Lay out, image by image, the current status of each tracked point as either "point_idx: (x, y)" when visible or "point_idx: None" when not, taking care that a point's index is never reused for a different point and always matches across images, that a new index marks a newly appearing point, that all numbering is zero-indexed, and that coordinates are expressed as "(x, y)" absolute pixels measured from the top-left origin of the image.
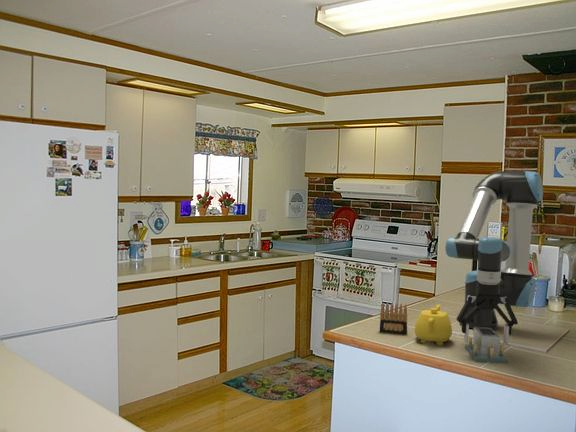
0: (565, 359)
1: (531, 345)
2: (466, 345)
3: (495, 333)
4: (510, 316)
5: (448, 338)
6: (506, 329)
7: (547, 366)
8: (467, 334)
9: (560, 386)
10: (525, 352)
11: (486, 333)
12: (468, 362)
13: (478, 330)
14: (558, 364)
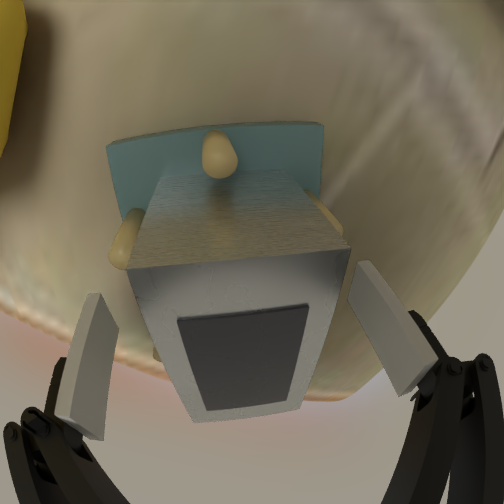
0: (482, 235)
1: (483, 84)
2: (115, 174)
3: (301, 380)
4: (466, 425)
5: (2, 150)
6: (389, 375)
7: (405, 308)
8: (103, 376)
9: (342, 393)
10: (434, 176)
11: (232, 401)
12: (141, 346)
13: (177, 361)
14: (442, 282)
